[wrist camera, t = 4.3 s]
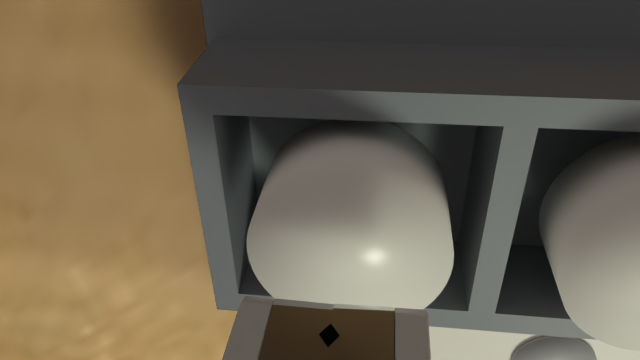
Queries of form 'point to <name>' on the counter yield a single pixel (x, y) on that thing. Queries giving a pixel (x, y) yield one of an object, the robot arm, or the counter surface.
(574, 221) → the middle button
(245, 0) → the pattern board
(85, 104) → the counter surface
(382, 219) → the button
